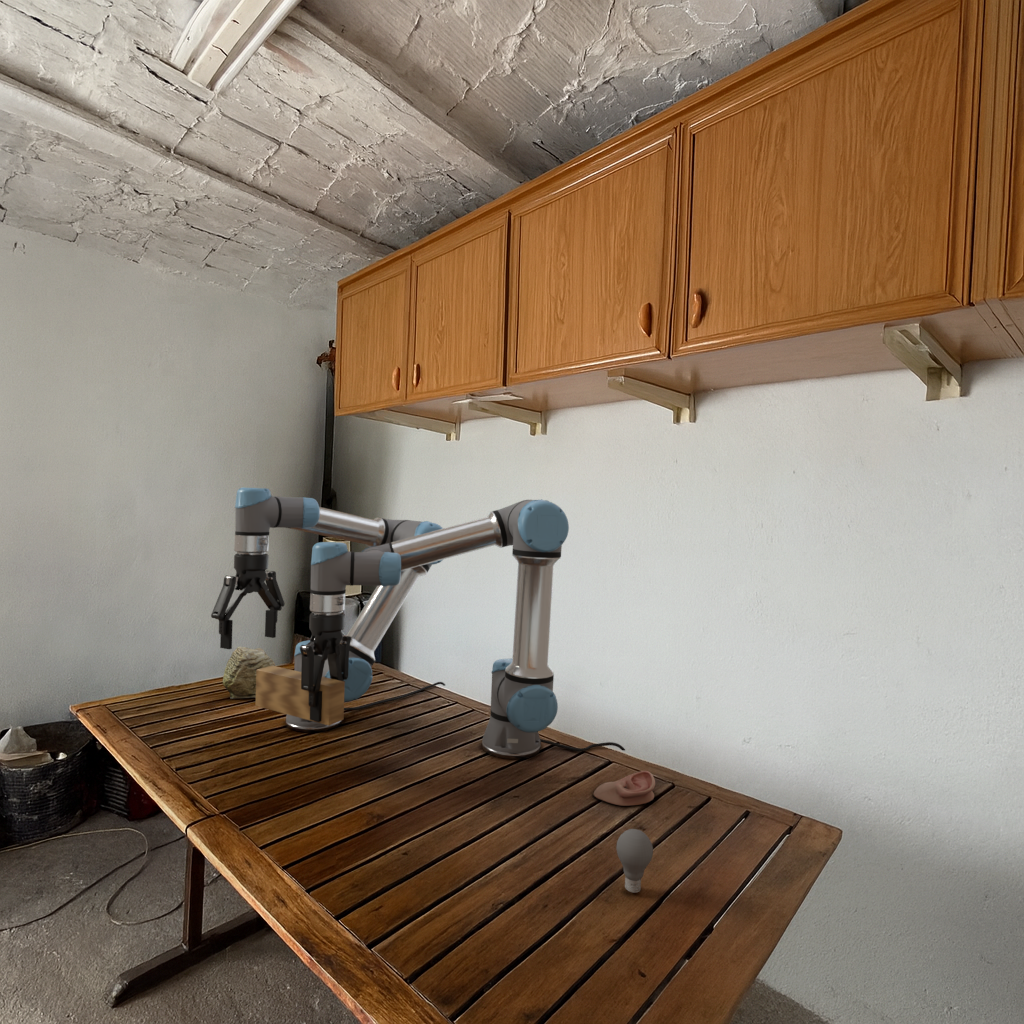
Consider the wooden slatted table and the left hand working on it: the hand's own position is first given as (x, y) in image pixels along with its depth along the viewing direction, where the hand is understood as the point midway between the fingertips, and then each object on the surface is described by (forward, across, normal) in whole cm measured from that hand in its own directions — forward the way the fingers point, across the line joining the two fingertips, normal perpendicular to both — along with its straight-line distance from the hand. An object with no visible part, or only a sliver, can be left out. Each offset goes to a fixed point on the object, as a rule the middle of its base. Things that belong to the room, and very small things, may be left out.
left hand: (249, 642), depth 150 cm
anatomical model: (+28, +25, -85) cm, 93 cm away
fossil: (+28, +37, +34) cm, 58 cm away
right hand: (+14, -1, -23) cm, 27 cm away
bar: (+14, 0, -15) cm, 21 cm away
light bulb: (+28, -9, -94) cm, 99 cm away
